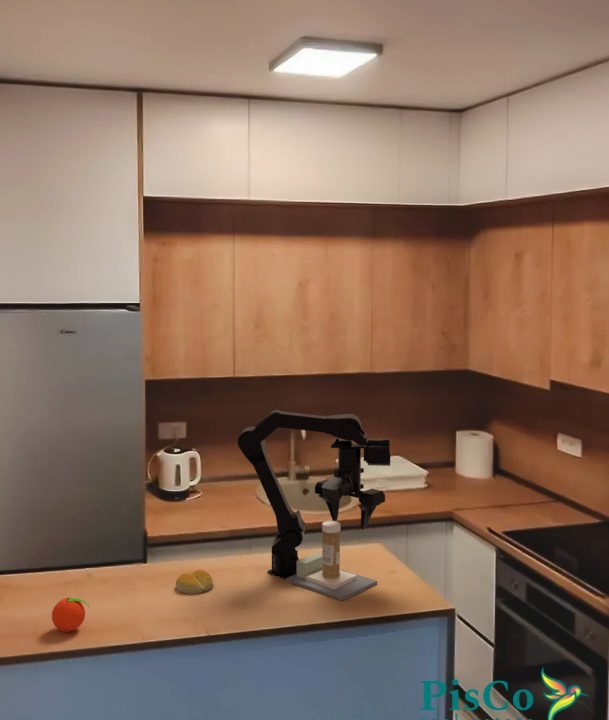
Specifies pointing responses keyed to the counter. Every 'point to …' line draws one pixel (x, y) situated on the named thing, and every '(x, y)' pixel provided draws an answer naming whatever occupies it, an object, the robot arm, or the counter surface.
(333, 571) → the sprinkles bottle
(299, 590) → the counter surface
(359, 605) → the counter surface
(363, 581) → the board
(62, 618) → the clementine
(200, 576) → the bread roll
